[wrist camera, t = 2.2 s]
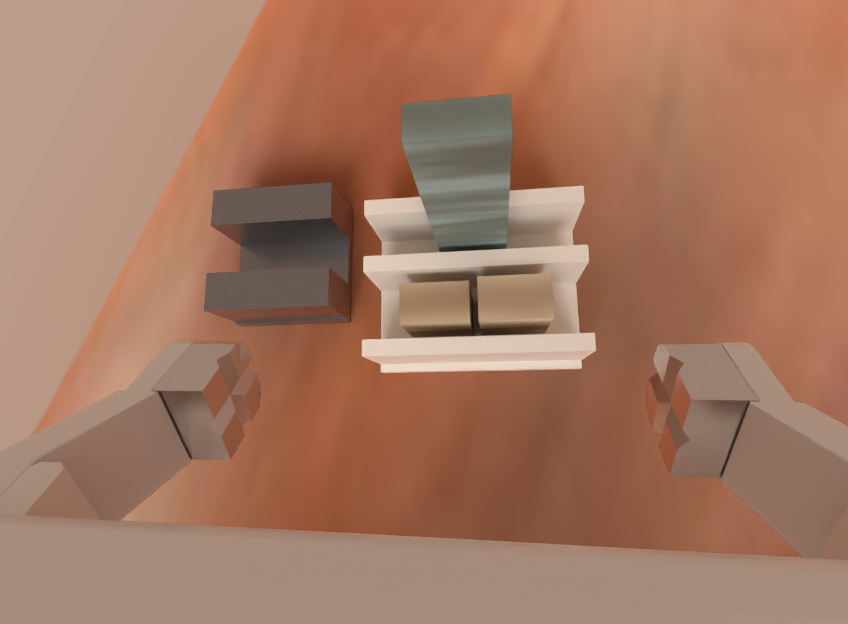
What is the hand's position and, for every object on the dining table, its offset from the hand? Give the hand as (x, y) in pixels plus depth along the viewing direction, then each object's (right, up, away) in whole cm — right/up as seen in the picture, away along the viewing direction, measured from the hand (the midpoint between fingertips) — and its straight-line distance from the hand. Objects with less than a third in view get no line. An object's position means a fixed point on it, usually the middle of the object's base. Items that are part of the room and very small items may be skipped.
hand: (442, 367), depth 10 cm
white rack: (+4, +3, +32) cm, 33 cm away
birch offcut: (+1, +1, +31) cm, 31 cm away
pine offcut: (+7, +1, +31) cm, 31 cm away
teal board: (+4, +6, +32) cm, 33 cm away
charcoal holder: (-12, +5, +35) cm, 37 cm away
